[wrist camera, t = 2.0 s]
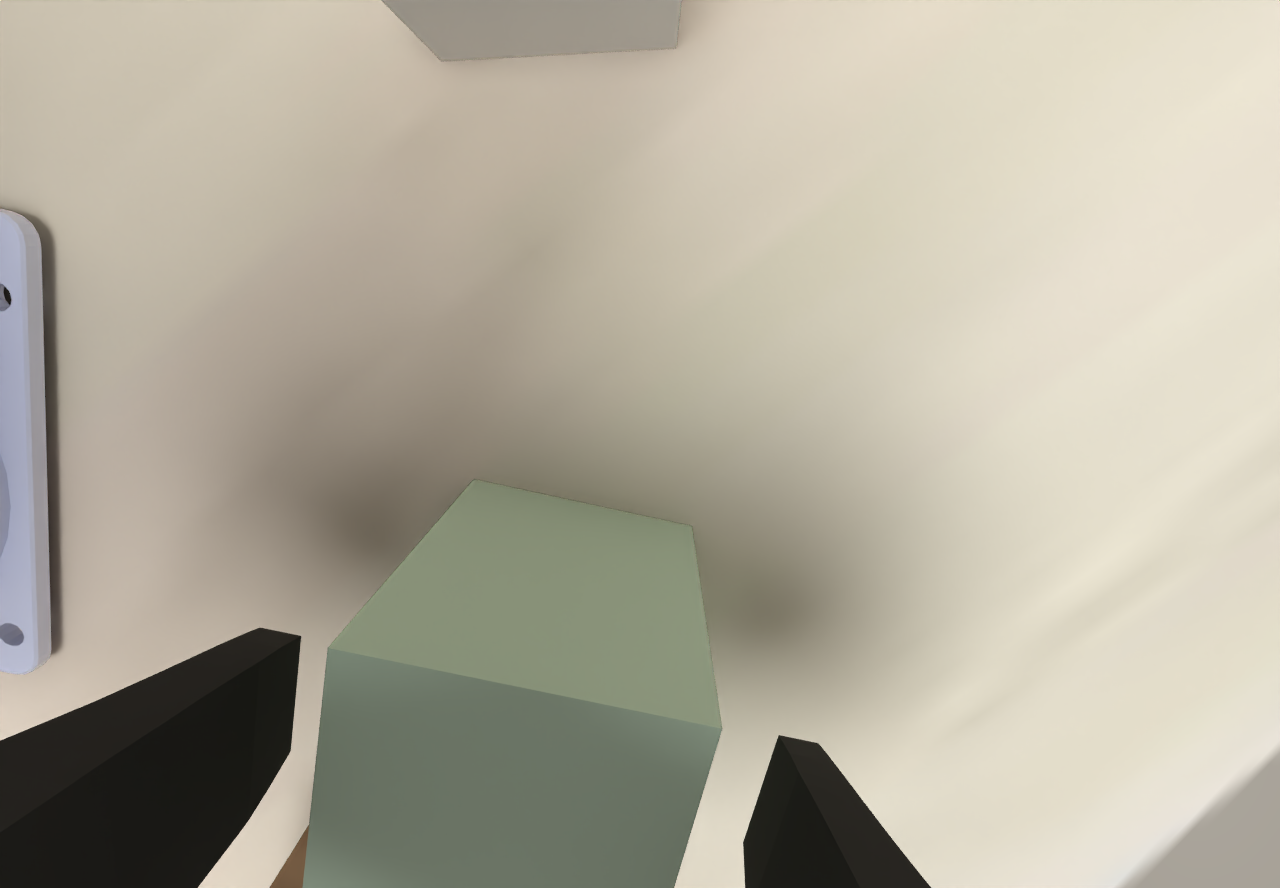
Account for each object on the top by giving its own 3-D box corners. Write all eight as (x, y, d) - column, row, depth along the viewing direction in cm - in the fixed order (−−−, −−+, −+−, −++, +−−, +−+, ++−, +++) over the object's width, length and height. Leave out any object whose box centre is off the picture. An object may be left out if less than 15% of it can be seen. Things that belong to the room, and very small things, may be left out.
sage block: (474, 478, 13) (327, 647, 7) (691, 525, 13) (721, 728, 7) (443, 668, 14) (296, 947, 8) (643, 709, 14) (636, 1010, 8)
